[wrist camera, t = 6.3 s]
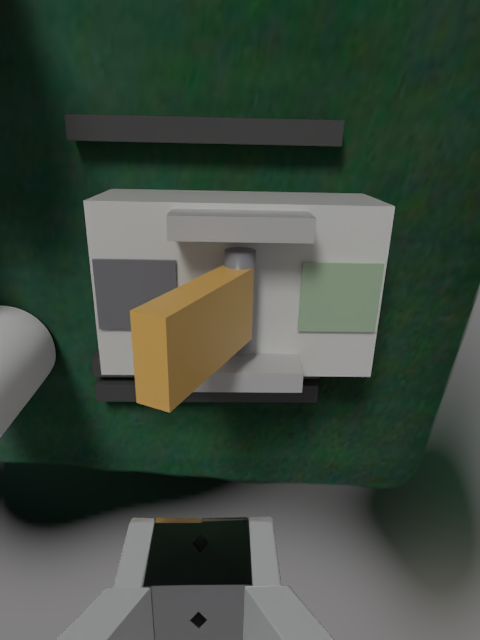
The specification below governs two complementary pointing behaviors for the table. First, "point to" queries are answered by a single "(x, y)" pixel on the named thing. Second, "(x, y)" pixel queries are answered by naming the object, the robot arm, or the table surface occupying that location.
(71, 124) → the dark grey long bar
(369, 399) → the table surface
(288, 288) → the white slotted housing
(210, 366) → the lever
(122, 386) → the dark grey flat bar
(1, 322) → the can
